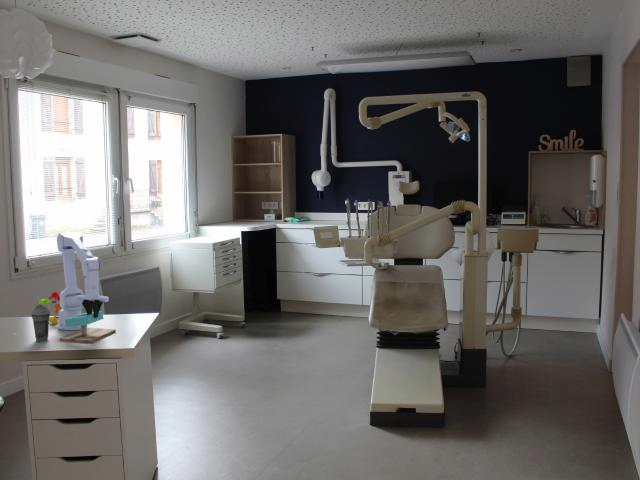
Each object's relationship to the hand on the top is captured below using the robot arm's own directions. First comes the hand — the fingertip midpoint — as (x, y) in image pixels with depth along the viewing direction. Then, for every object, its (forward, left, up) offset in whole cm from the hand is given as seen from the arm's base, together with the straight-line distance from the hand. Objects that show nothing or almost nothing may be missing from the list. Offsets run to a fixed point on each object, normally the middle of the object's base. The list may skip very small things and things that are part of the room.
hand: (93, 317), depth 272 cm
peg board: (-5, +3, -9) cm, 11 cm away
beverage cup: (-20, -8, -10) cm, 23 cm away
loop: (-4, 0, -3) cm, 5 cm away
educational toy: (-36, +24, -10) cm, 44 cm away
